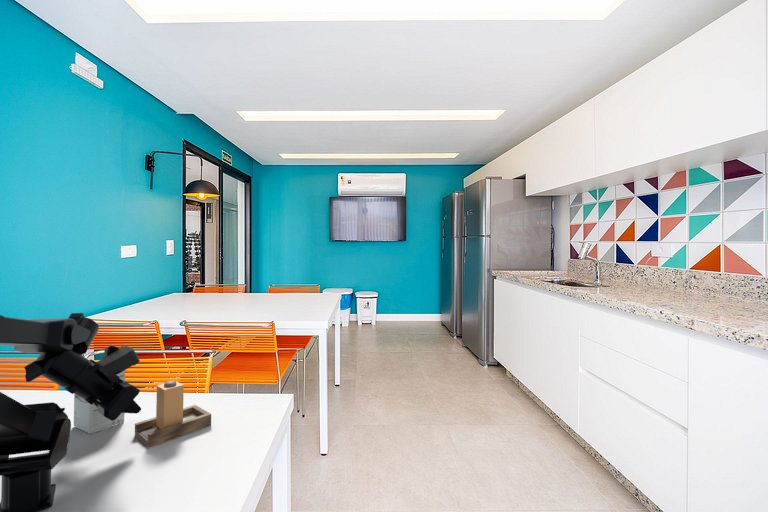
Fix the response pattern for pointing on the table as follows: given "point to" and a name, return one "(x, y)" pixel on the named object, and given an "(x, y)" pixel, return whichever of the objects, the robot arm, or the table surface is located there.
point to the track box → (172, 427)
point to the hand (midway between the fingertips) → (139, 410)
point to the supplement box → (93, 415)
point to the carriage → (169, 404)
